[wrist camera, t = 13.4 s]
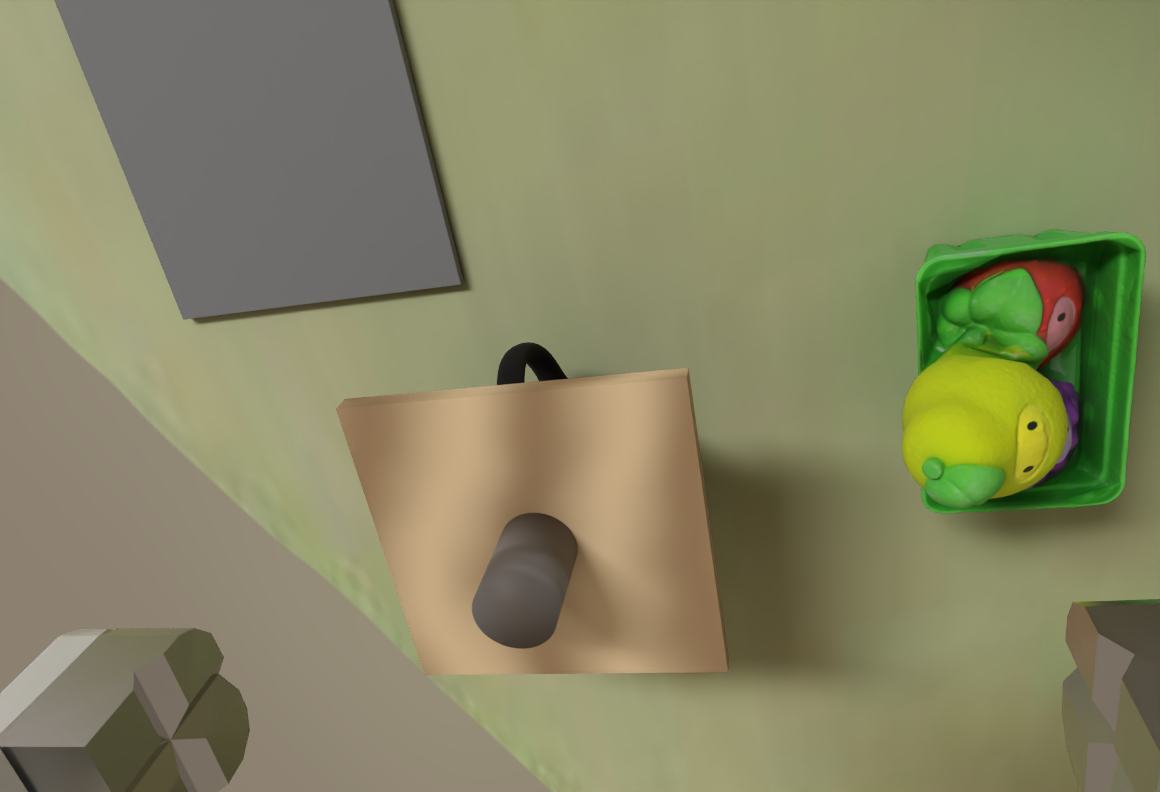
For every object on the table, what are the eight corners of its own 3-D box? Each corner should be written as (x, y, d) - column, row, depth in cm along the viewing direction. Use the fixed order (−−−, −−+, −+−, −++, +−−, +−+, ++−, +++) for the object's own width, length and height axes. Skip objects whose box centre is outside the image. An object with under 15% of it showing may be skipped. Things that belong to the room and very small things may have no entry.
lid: (688, 367, 30) (677, 436, 25) (728, 657, 35) (725, 753, 31) (344, 398, 33) (285, 464, 29) (430, 661, 38) (391, 749, 34)
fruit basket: (1083, 442, 39) (1196, 608, 29) (877, 458, 41) (917, 618, 31) (1097, 193, 34) (1237, 290, 24) (864, 225, 37) (905, 327, 27)
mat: (373, -76, 34) (368, -77, 34) (463, 280, 41) (460, 284, 40) (61, -2, 38) (53, -2, 38) (188, 315, 44) (183, 319, 44)
